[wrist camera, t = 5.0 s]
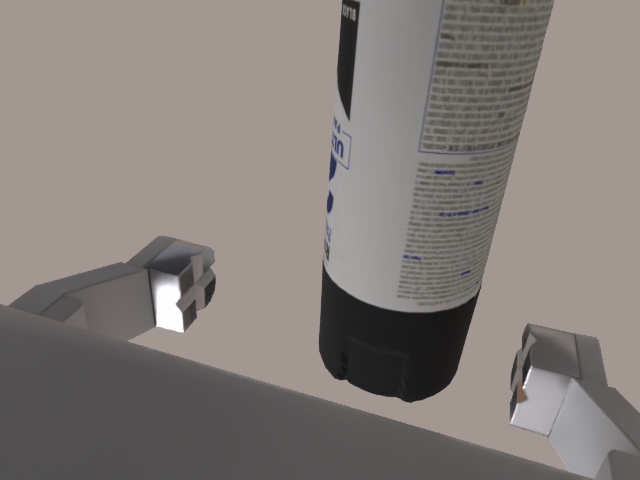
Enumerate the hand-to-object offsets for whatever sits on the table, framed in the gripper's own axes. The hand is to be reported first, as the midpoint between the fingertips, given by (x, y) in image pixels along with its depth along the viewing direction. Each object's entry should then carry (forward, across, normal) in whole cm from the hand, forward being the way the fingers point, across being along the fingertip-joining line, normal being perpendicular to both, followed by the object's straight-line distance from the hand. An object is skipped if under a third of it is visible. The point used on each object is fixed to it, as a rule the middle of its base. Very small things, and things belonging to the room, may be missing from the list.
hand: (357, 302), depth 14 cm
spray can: (+8, 0, -11) cm, 14 cm away
